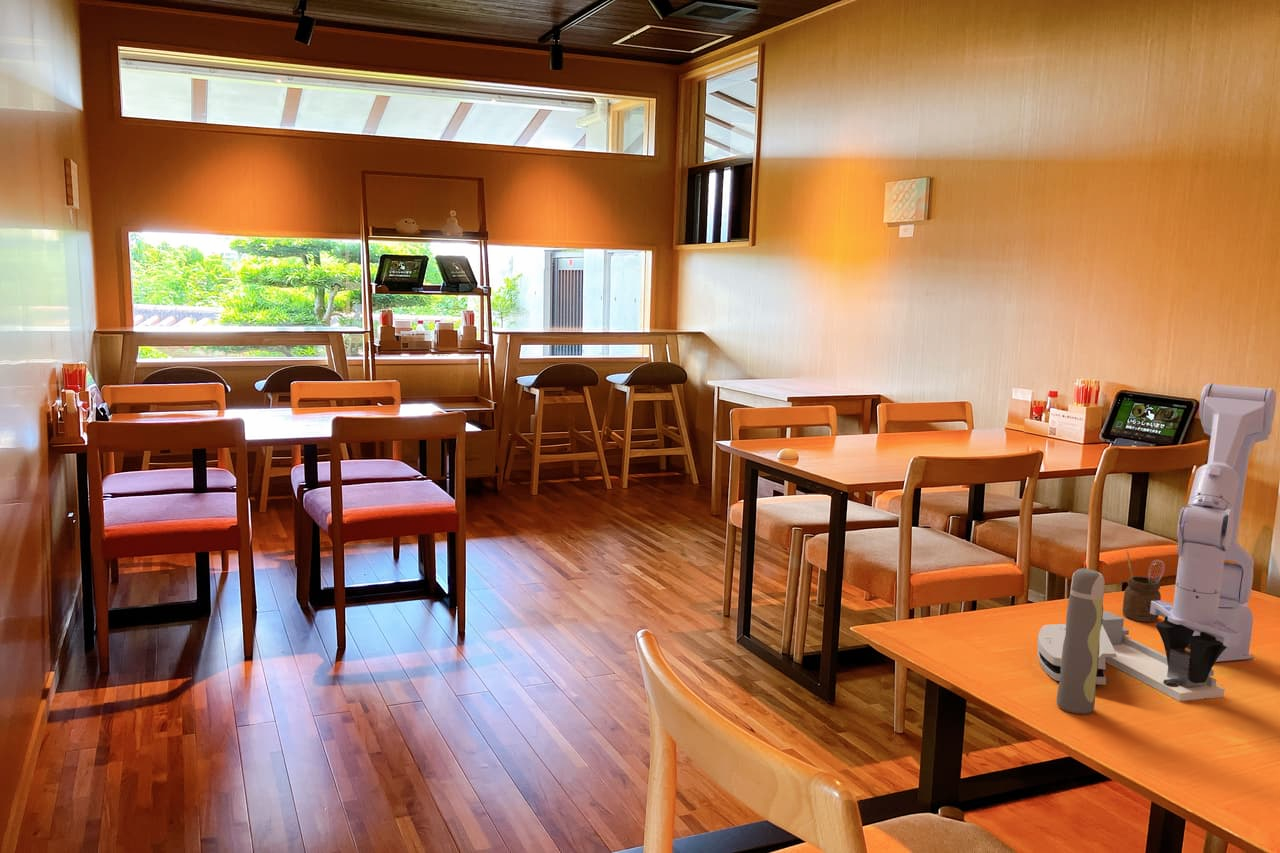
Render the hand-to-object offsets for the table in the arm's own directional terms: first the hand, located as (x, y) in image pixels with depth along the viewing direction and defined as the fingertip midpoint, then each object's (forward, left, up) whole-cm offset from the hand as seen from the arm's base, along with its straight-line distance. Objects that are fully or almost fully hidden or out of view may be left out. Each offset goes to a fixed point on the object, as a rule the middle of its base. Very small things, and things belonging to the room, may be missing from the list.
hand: (1186, 676), depth 146 cm
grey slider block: (0, 0, -1) cm, 1 cm away
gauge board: (0, -8, -2) cm, 8 cm away
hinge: (+8, -9, 0) cm, 12 cm away
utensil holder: (-18, -29, -2) cm, 34 cm away
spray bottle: (+21, +2, -2) cm, 21 cm away
